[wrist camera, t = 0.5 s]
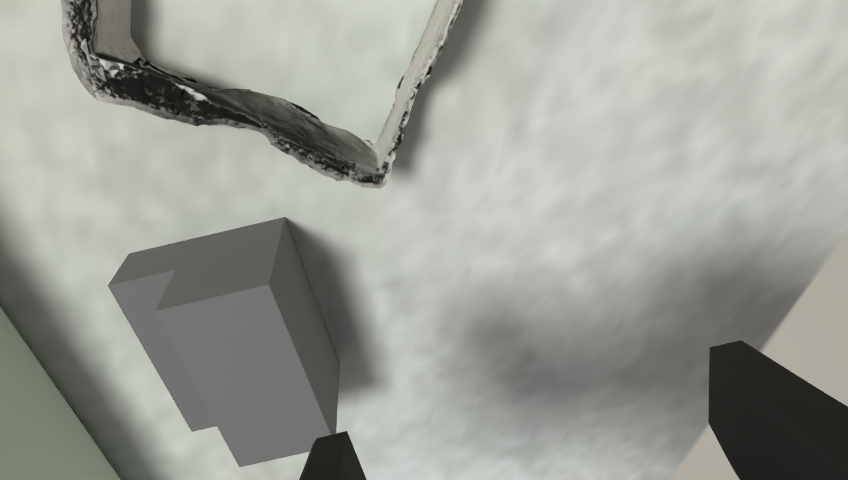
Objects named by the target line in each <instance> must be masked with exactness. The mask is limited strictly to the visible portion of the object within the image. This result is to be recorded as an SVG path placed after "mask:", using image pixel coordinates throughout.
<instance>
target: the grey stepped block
mask: <svg viewBox="0 0 848 480" xmlns="http://www.w3.org/2000/svg"><path fill="white" fill-rule="evenodd" d="M108 287H109V289H110V290H111V292H112V294H113V296H114V297H115V299H116V301H117V302H118V304H119V306H120V308H121V309H122V311H123V313H124V315H125V316H126V318H127V320H128V322H129V323H130V325H131V327H132V328H133V330H134V332H135V334H136V335H137V337H138V339H139V341H140V342H141V344H142V346H143V348H144V349H145V351H146V353H147V355H148V356H149V358H150V360H151V361H152V363H153V365H154V367H155V368H156V370H157V372H158V374H159V375H160V377H161V379H162V381H163V382H164V384H165V386H166V388H167V389H168V391H169V393H170V394H171V396H172V398H173V400H174V401H175V403H176V405H177V407H178V408H179V410H180V412H181V414H182V415H183V417H184V419H185V420H186V422H187V424H188V426H189V427H190V429H191V431H197V430H201V429H206V428H210V427H214V426H217V427H218V429H219V430H220V432H221V434H222V436H223V438H224V440H225V442H226V443H227V445H228V447H229V449H230V451H231V453H232V454H233V456H234V458H235V460H236V462H237V464H238V465H239V467H243V466H247V465H251V464H256V463H260V462H265V461H269V460H274V459H278V458H283V457H287V456H291V455H296V454H300V453H305V452H309V451H311V448H312V445H313V443H314V442H315V440H316V439H317V438H320V437H324V436H328V435H333V434H336V424H337V403H338V382H339V360H338V357H337V355H336V352H335V349H334V347H333V344H332V341H331V339H330V336H329V333H328V331H327V328H326V325H325V323H324V320H323V317H322V315H321V312H320V309H319V307H318V304H317V301H316V298H315V296H314V293H313V290H312V288H311V285H310V282H309V280H308V277H307V274H306V272H305V269H304V266H303V264H302V261H301V258H300V256H299V253H298V250H297V248H296V245H295V242H294V240H293V237H292V234H291V231H290V229H289V226H288V223H287V221H286V218H285V217H284V218H279V219H275V220H271V221H267V222H262V223H258V224H254V225H249V226H245V227H241V228H237V229H232V230H228V231H224V232H220V233H215V234H211V235H207V236H203V237H198V238H194V239H190V240H186V241H181V242H177V243H173V244H168V245H164V246H160V247H156V248H151V249H147V250H143V251H139V252H134V253H130V254H129V255H128V256H127V258H126V259H125V261H124V262H123V264H122V265H121V267H120V268H119V270H118V271H117V273H116V274H115V276H114V277H113V279H112V280H111V282H110V283H109V285H108Z"/></svg>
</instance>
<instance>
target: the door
mask: <svg viewBox="0 0 848 480" xmlns="http://www.w3.org/2000/svg"><path fill="white" fill-rule="evenodd" d="M0 480H121V479H120V478H119V477H118V475H117V474H116V472H115V471H114V469H113V468H112V467H111V465H110V464H109V462H108V461H107V459H106V458H105V456H104V455H103V454H102V452H101V451H100V449H99V448H98V446H97V445H96V444H95V442H94V441H93V439H92V438H91V436H90V435H89V434H88V432H87V431H86V429H85V428H84V426H83V425H82V423H81V422H80V421H79V419H78V418H77V416H76V415H75V413H74V412H73V411H72V409H71V408H70V406H69V405H68V403H67V402H66V400H65V399H64V398H63V396H62V395H61V393H60V392H59V390H58V389H57V388H56V386H55V385H54V383H53V382H52V380H51V379H50V378H49V376H48V375H47V373H46V372H45V370H44V369H43V367H42V366H41V365H40V363H39V362H38V360H37V359H36V357H35V356H34V355H33V353H32V352H31V350H30V349H29V347H28V346H27V344H26V343H25V342H24V340H23V339H22V337H21V336H20V334H19V333H18V332H17V330H16V329H15V327H14V326H13V324H12V323H11V321H10V320H9V319H8V317H7V316H6V314H5V313H4V311H3V310H2V309H1V307H0Z"/></svg>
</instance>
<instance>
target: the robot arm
mask: <svg viewBox="0 0 848 480" xmlns="http://www.w3.org/2000/svg"><path fill="white" fill-rule="evenodd" d="M709 424H710V426H711V428H712V430H713V432H714V434H715V436H716V438H717V440H718V441H719V443H720V445H721V447H722V449H723V451H724V453H725V455H726V457H727V458H728V460H729V462H730V464H731V466H732V467H733V469H734V471H735V473H736V474H737V476H738V477H739V479H740V480H848V407H847V406H846V405H844V404H842V403H841V402H839V401H837V400H836V399H834V398H832V397H831V396H829V395H827V394H826V393H824V392H823V391H821V390H819V389H817V388H816V387H814V386H813V385H811V384H810V383H808V382H806V381H805V380H803V379H801V378H800V377H798V376H797V375H795V374H794V373H792V372H790V371H789V370H787V369H786V368H784V367H782V366H781V365H779V364H778V363H776V362H774V361H773V360H772V359H770V358H768V357H767V356H765V355H764V354H762V353H761V352H759V351H757V350H756V349H754V348H753V347H751V346H749V345H748V344H746V343H745V342H743V341H741V340H740V341H736V342H732V343H727V344H723V345H719V346H714V347H710V363H709ZM299 480H366V477H365V475H364V472H363V470H362V467H361V465H360V462H359V460H358V457H357V455H356V453H355V450H354V448H353V445H352V443H351V440H350V438H349V435H348V433H347V431H346V432H341V433H337V434H333V435H328V436H324V437H320V438H317V439H316V440H315V442H314V443H313V445H312V448H311V451H310V453H309V456H308V459H307V461H306V464H305V466H304V469H303V472H302V474H301V477H300V479H299Z"/></svg>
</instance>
